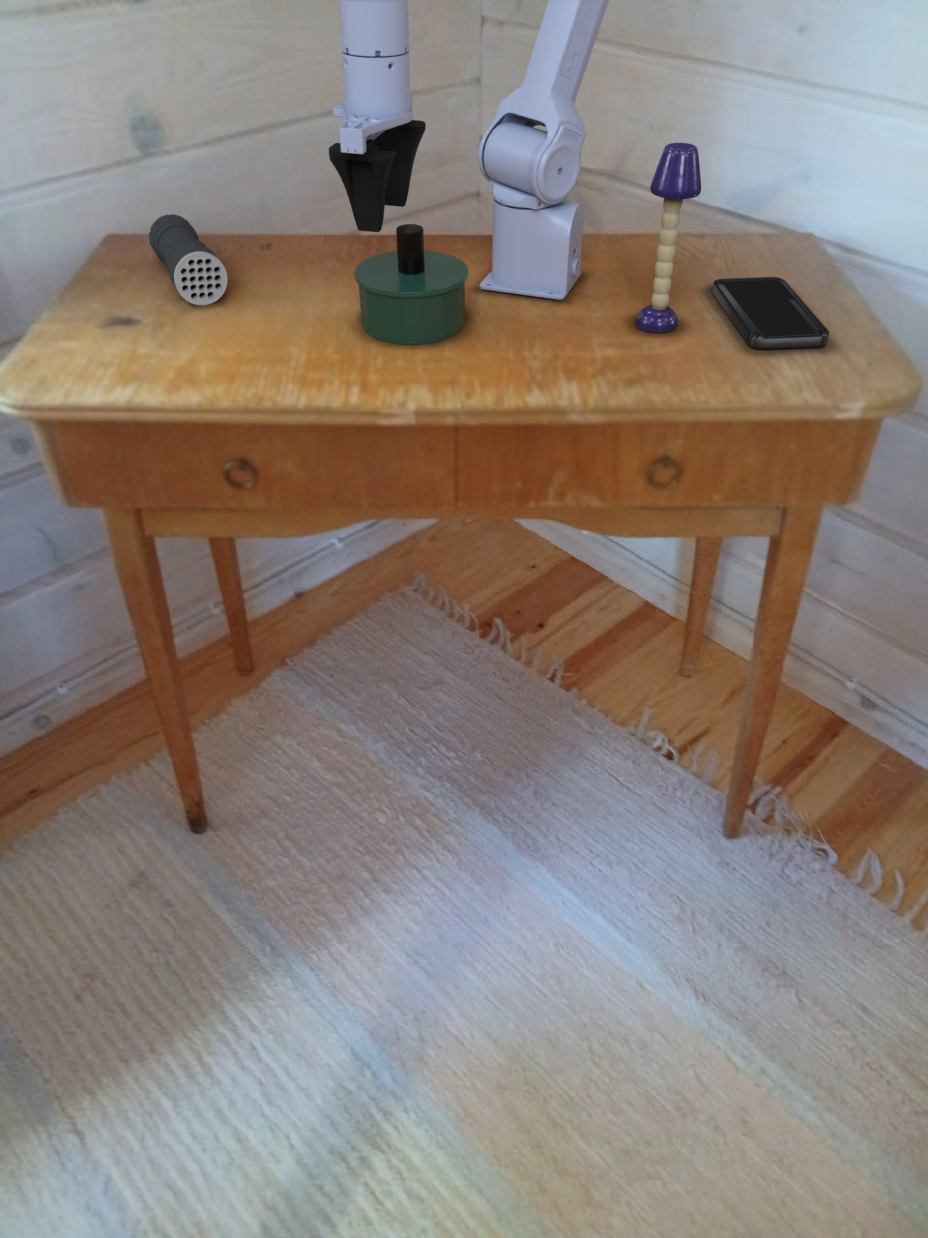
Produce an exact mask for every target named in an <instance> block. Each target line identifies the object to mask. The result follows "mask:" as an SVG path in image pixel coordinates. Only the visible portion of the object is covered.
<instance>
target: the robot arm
mask: <svg viewBox="0 0 928 1238" xmlns="http://www.w3.org/2000/svg"><path fill="white" fill-rule="evenodd" d="M547 1H548V2H547V5H546V8H545V10H544V14H543V17H542V20H541V23H540V27H539V30H538V33H537V37H536V40H535V43H534V47H533V50H532V53H531V56H530V59H529V63H528V65H527V68H526V72H525V75H524V79H523V82H522V84H521V86H519V87H518V88H517V89H516V90H514V91H513V92H511V93H510V94H509V95H507V96H506V97H505V98H503V100H501V101H500V102H499V104H498V108H497V111H496V114H495V117H494V119H493V120H492V122H491V123H490V125H489V126H488V127H487V129H486V130H485V132H484V133H483V135H482V137H481V140H480V143H479V147H478V153H477V162H478V166H479V169H480V173H481V175H482V176H483V177H484V179H485V180H486V181H488V182H489V187H488V188H489V189H488V191H489V193H490V194H492V196H493V197H492V243H491V244H492V248H491V250H492V251H491V254H492V255H491V271H490V272H489V273H488V274H487V275H486V277H484V279H482V281H481V282H480V283H479V289H480V290H485V291H493V292H497V293H498V292H500V293H506V294H514V295H520V296H529V297H534V298H535V297H536V298H544V299H549V300H550V299H551V300H558V301H562V300H564V299H565V298H566V297H567V295H568V294H569V293H570V291H571V289H572V288H573V287H574V286H575V284H576V282H578V280H579V278H580V277H581V276H582V270H581V265H582V263H581V262H582V252H583V251H582V250H583V238H584V237H583V236H584V223H585V213H584V205H582V203H579V202H575V201H570V200H568V196H569V195H570V194H571V193H572V191H573V190H574V188H575V186H576V184H577V182H578V179H579V177H580V173H581V167H582V151H583V146H584V142H585V139H586V136H587V128H586V126H585V124H584V122H583V120H582V118H581V116H580V115H579V113H578V111H577V109H576V105H575V103H576V100H577V97H578V94H579V91H580V88H581V85H582V82H583V79H584V76H585V73H586V70H587V68H588V64H589V62H590V58H591V55H592V52H593V49H594V46H595V43H596V40H597V37H598V34H599V31H600V28H601V25H602V22H603V19H604V17H605V13H606V10H607V7H608V4H609V1H610V0H547ZM338 11H339V13H338V14H339V27H340V28H339V29H340V30H339V31H340V44H341V46H340V47H341V61H342V73H343V75H342V76H343V89H344V90H343V91H344V92H343V93H344V103H338V104H336V105H334V106H333V107H332V116H333V117H335V118H342V120H343V123H342V125H341V126H340V127H339V128H338V130H339V141H340V142H335V143H334V144H332V145H331V146H329V147H328V157H329V161H330V162H331V164H332V166H333V167H334V169H335V171H336V172H337V173H338V175H339V178H340V180H341V182H342V184H343V187H344V189H345V192H346V195H347V198H348V201H349V204H350V207H351V212H352V216H353V218H354V222H355V225H356V228H357V231H358V232H359V231H360V232H369V233H380V232H381V231H382V228H383V224H384V219H385V207H386V206H388V207H399V208H401V207H402V208H405V206H406V205H407V204H406V203H407V201H408V197H409V196H408V195H409V191H410V184H411V179H412V173H413V167H414V163H415V158H416V155H417V152H418V149H419V146H420V143H421V140H422V139H423V137H424V134H425V132H426V128H427V127H426V126H427V125H426V122H425V121H423V120H417V119H413V118H414V111H413V110H414V108H413V92H412V91H411V78H410V77H411V76H410V74H411V73H410V72H411V71H410V31H409V30H410V29H409V0H338ZM536 126H542V127H545V128H546V130H543V129H540V128H537V127H536Z"/></svg>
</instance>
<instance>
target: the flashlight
mask: <svg viewBox="0 0 928 1238" xmlns="http://www.w3.org/2000/svg"><path fill="white" fill-rule="evenodd" d="M197 233H198V232H197V231H196V229H195V228H194V227H193V225H192V224H191V223H190V222H189V221H188V220H187V219H186V218H185V217H183V216H181V215H178V214H173V213H171V214H164V215H161V216H160V217H158V218H157V219H156V220H155V221H154V222H153V223H152V224H151V226H150V228H149V233H148V240H149V245H150V247H151V248H152V250H153V252H154V253H155V255H156V257H157V258H158V259H159V260H160V261H161V262H163V263H164V264H165V268H166V270H167V272H168V274H169V278H170V280H171V283H172V284H173V286H174V287H175V289H176V290H177V292H178V294H179V295H180V296H181V297H182V298H183V300H185V301H186V302H188V303H190V304H192V305H196V306H206V305H212V304H213V303H215V302H217V301H218V300H220V298H222V296H223V295H224V293H225V292H226V290H227V286H228V278H229V277H228V272H227V269H226V267H225V266H224V264H223V263H222V261H221V260H220V259H219V257H218V256H217V254H215V253H214V251H213V250H212V249H210V248H209V247H208V246H207V245H206V244H205V243H203V241H200V238H199V235H198V234H197Z"/></svg>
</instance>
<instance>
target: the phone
mask: <svg viewBox="0 0 928 1238" xmlns="http://www.w3.org/2000/svg"><path fill="white" fill-rule="evenodd" d="M711 292H712V295H713V296H714V297H715V299H716V300H717V302H718V304H719V305H720V307H721V308H722V309H723V311H724V312H725V314H726V315H727V316H728V318H729V320H730V321H731V323H732V324H733V325H734V327H735V328H736V330H737V331H738V332H739V334H740V335H741V337H742V338H743V339H744V341H745V343H746V345H748V347H750V348H752V349H755V350H784V349H785V350H786V349H808V348H823V347H826V346H827V344H828V340H829V336H830V331H829V329H827V327H826V326H825V325H824V323H823V322H822V321H821V320H820V319H819V318H818V316H816V314H815V313H814V312H813V311H812V309H811V308H810V307H809V305H807V304H806V303H805V301H804V300H803V299H802V298H801V297H800V296H799V294H798V293H797V292H796V291H795V290H794V289H793V287H792V286H791V285H790V284H789V283H788V281H786V279H784V278H781V277H777V276H760V277H759V276H758V277H757V276H756V277H732V278H717V279H715V280H714V281H713V285H712V291H711Z"/></svg>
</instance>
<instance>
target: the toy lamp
mask: <svg viewBox="0 0 928 1238" xmlns="http://www.w3.org/2000/svg"><path fill="white" fill-rule="evenodd" d="M652 177H653V178H652V180H651V183H650V188H649V190H650V192H651V194H652V195H654V196H656V197H658V198H659V197H660V198H662V199H663V202H662V206H663V212H662V214H661V218H660V224H661V228H660V230H659V234H658V241H659V244H658V245H657V248H656V259H657V261H656V262H655V265H654V275H655V276H654V279H653V282H652V289H653V293H652V295H651V298H650V303H651V304H649V305H646V306H644V307H643V308H641V310H640V311H639V312H638V314H637V316H636V318H635V322H634V323H635V326H636V327H637V328H638V329H640V330H641V331H645V332H650V333H656V334H657V333H667V332H672V331H674V330H675V329H676V330H677V328H678V325H679V320H678V316H677V314H676V312H675V310H674V309H673V308H672V307H670V306H669V303H670V293H669V292H670V290H671V288H672V277H671V276H672V274H673V272H674V261H673V260H674V259H675V256H676V245H675V244H676V242H677V240H678V237H679V231H678V227H679V225H680V221H681V213H680V210H681V209H682V208H683V207H682V206H683V204H684V203H683V201H684V200H690V199H694V198H697V197H699V196H700V194H701V192H702V179H701V168H700V156H699V150H698V146H696V145H695V144H692V143H688V142H670V143H668V144H666V145H665V147H663V150H662V153H661V155H660V158H659V160H658V164H657V166H656V169H655V171H654V174H653V176H652Z"/></svg>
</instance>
